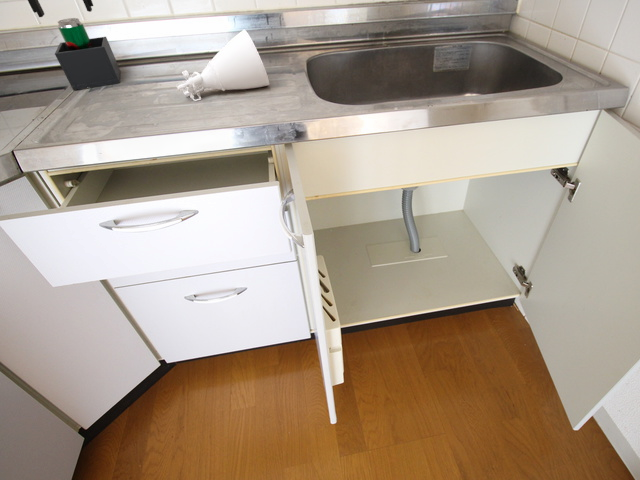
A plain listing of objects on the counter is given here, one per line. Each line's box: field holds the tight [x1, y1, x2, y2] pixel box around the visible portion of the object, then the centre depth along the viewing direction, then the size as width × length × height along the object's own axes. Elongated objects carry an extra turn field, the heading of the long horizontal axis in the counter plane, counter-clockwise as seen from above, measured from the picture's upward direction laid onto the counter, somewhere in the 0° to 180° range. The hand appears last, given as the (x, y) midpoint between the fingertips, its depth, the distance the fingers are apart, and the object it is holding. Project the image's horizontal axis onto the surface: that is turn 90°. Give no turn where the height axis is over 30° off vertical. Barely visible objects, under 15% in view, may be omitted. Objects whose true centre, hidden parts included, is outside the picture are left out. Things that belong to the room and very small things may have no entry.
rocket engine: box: [176, 29, 270, 102], centre depth 84 cm, size 12×12×18 cm
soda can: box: [57, 17, 93, 51], centre depth 92 cm, size 5×5×12 cm
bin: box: [54, 36, 121, 91], centre depth 94 cm, size 10×10×8 cm
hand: (66, 13), depth 87 cm, fingers open, 9 cm apart
